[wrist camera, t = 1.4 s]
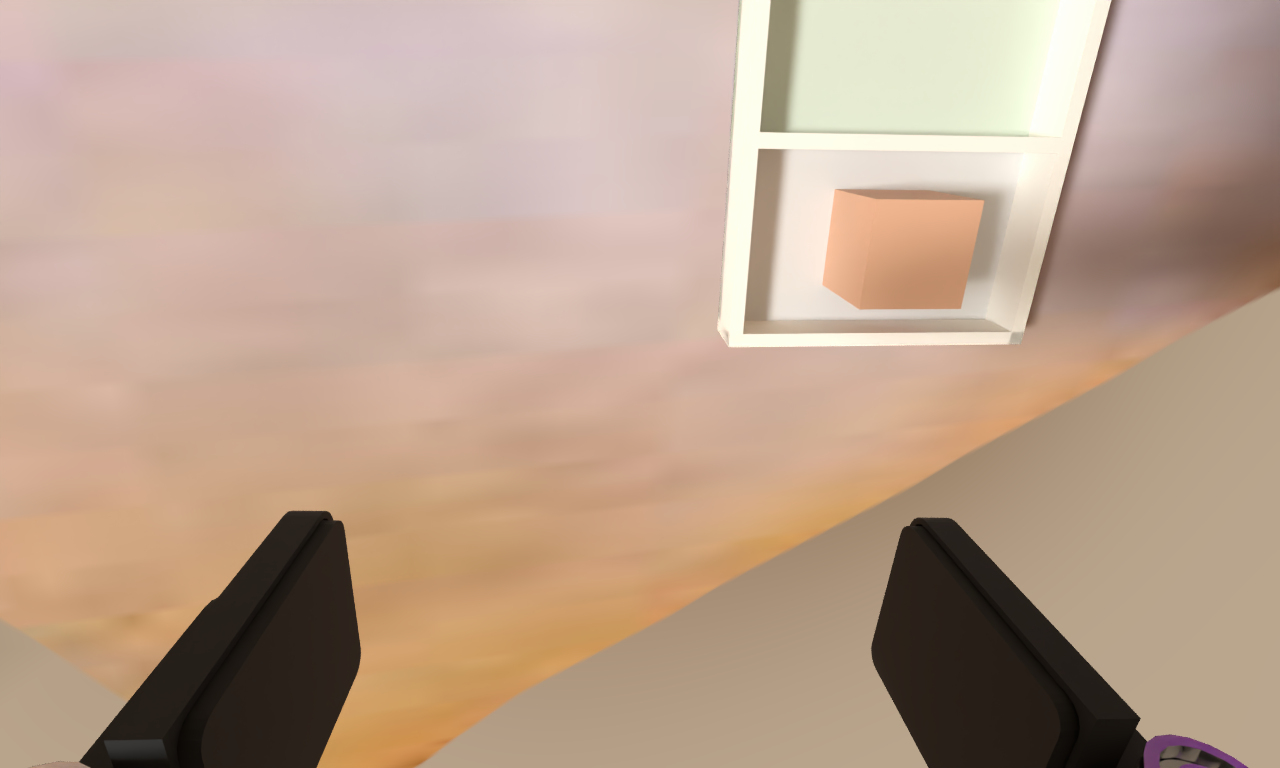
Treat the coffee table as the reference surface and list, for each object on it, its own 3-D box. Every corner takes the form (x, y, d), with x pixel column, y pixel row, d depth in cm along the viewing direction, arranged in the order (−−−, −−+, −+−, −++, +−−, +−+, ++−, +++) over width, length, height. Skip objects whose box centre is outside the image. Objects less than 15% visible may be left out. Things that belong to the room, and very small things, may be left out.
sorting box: (746, -105, 27) (764, -131, 25) (1087, -88, 29) (1140, -112, 26) (717, 329, 35) (728, 347, 32) (987, 327, 36) (1020, 344, 33)
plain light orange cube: (834, 189, 32) (876, 199, 27) (927, 190, 32) (984, 200, 28) (822, 285, 34) (859, 309, 29) (910, 284, 34) (960, 309, 30)
